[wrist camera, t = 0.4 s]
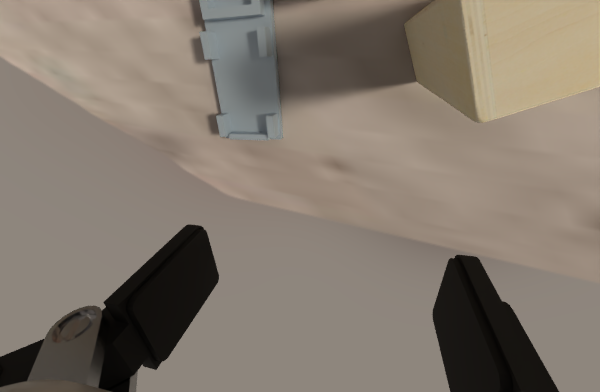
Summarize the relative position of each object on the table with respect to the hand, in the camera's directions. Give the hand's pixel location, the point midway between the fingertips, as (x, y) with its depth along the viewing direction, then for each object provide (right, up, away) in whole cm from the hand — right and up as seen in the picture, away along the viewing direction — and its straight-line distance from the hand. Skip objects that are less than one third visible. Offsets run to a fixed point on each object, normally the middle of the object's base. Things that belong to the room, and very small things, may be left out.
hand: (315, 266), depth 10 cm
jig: (-8, +22, +24) cm, 33 cm away
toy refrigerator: (+16, +20, +18) cm, 31 cm away
